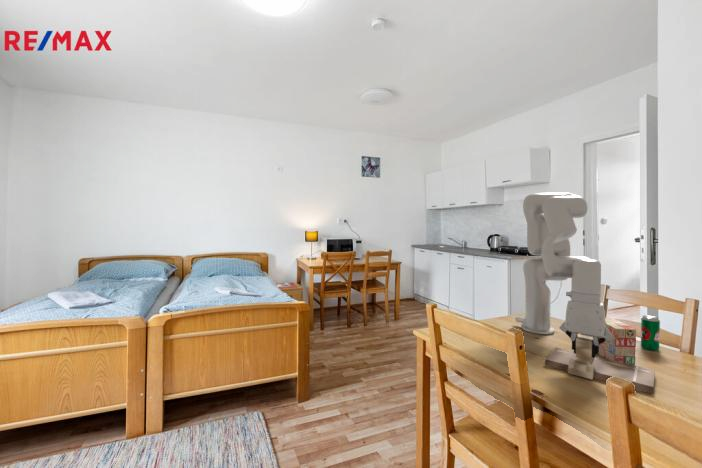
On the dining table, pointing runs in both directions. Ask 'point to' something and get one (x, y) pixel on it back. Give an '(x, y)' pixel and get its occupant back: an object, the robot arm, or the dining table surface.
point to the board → (607, 369)
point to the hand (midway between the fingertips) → (584, 353)
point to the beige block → (582, 358)
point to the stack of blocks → (619, 342)
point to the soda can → (650, 333)
